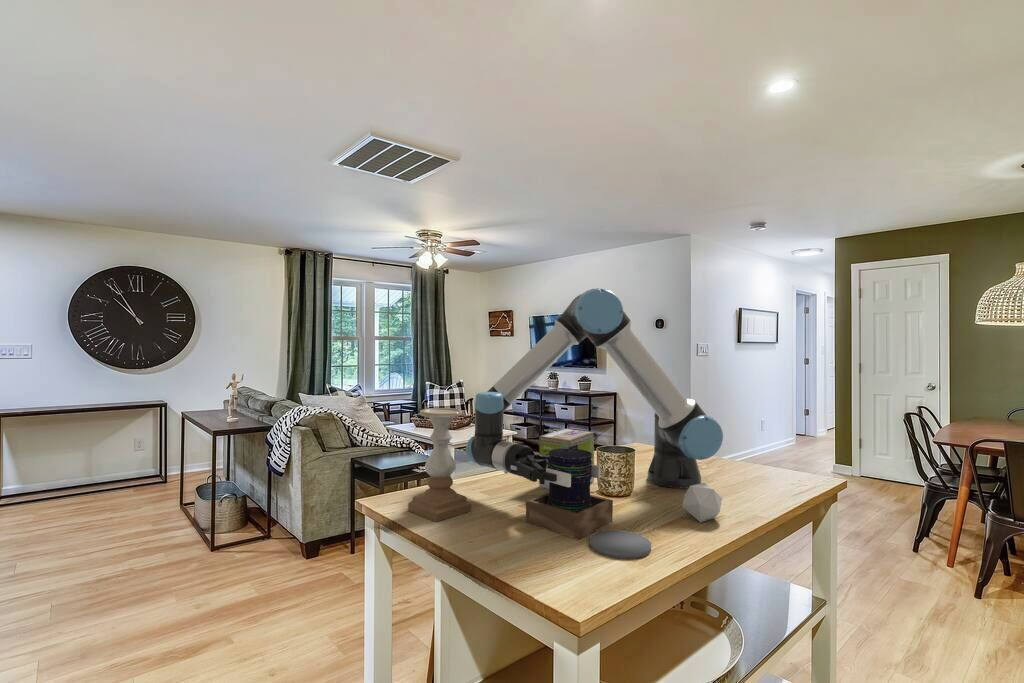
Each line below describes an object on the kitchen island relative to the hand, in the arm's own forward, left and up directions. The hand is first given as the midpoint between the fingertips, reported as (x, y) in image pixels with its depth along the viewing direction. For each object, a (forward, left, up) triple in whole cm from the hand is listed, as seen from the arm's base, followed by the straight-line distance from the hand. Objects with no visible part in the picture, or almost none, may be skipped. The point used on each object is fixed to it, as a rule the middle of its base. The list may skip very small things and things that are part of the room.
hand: (585, 476), depth 113 cm
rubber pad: (+4, +11, -11) cm, 16 cm away
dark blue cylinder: (0, -4, -11) cm, 12 cm away
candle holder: (+15, -31, -12) cm, 36 cm away
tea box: (-25, -22, -12) cm, 36 cm away
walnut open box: (0, -4, -11) cm, 12 cm away
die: (-24, +17, -12) cm, 32 cm away
